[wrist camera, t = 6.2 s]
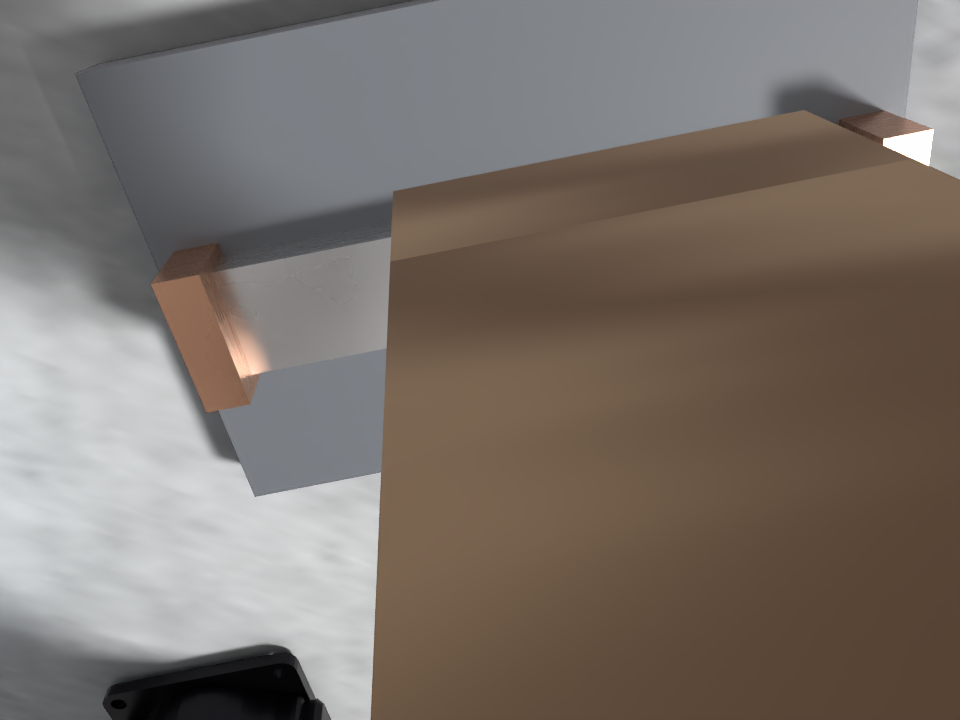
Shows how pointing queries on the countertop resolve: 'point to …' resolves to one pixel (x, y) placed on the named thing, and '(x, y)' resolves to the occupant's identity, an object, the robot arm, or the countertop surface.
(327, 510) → the countertop surface
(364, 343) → the copper ended bar
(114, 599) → the countertop surface
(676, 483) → the rail module
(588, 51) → the mounting plate
